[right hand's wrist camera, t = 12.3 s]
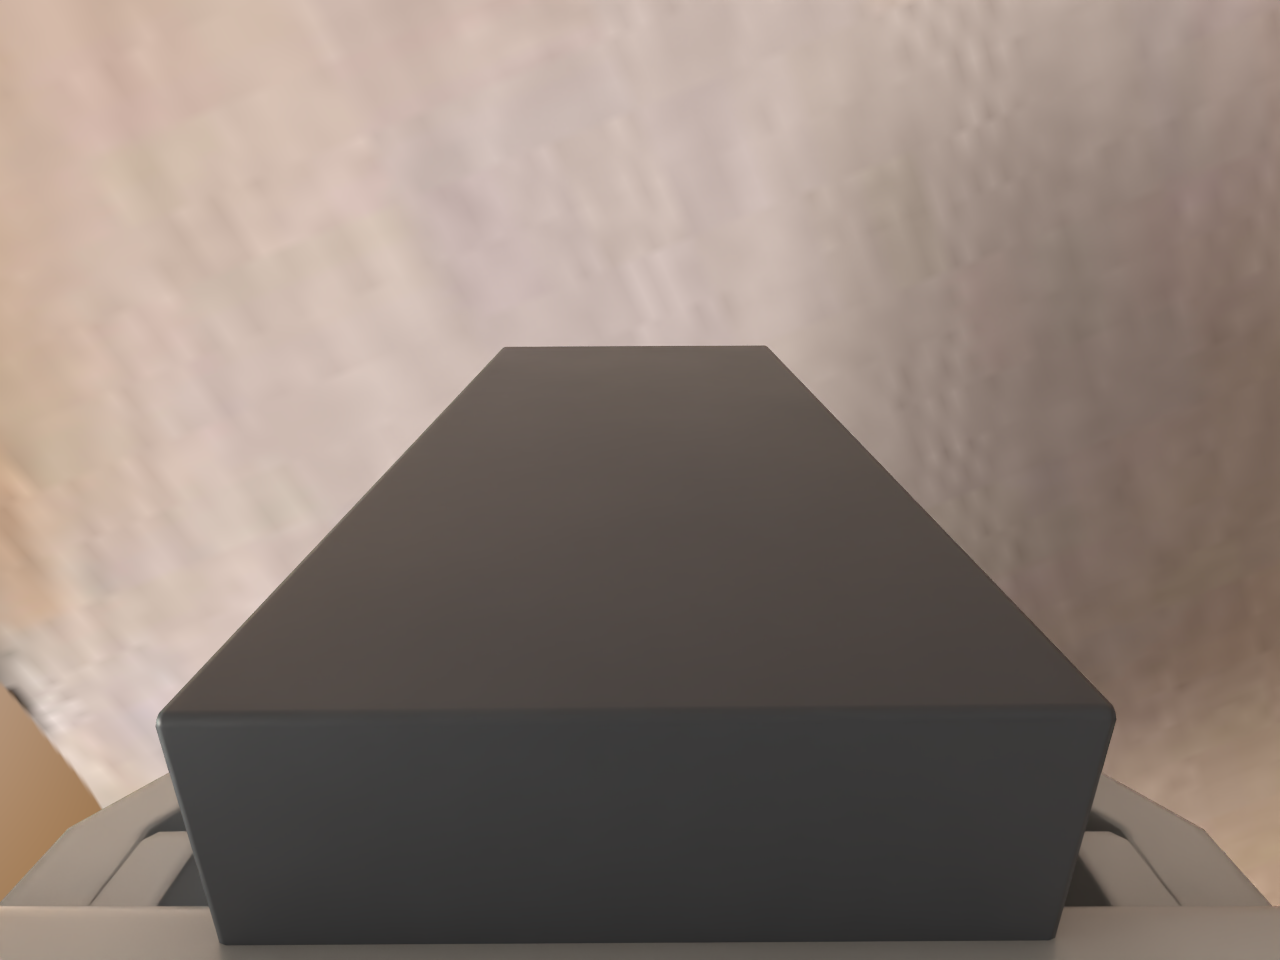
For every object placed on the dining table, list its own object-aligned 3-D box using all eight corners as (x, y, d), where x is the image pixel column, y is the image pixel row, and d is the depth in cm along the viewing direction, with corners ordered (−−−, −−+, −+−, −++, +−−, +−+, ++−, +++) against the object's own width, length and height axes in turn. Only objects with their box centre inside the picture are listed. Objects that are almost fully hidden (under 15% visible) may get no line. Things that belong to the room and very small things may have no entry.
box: (502, 346, 16) (146, 717, 4) (767, 345, 16) (1124, 711, 4) (548, 994, 24) (463, 1776, 12) (729, 992, 24) (824, 1771, 12)
